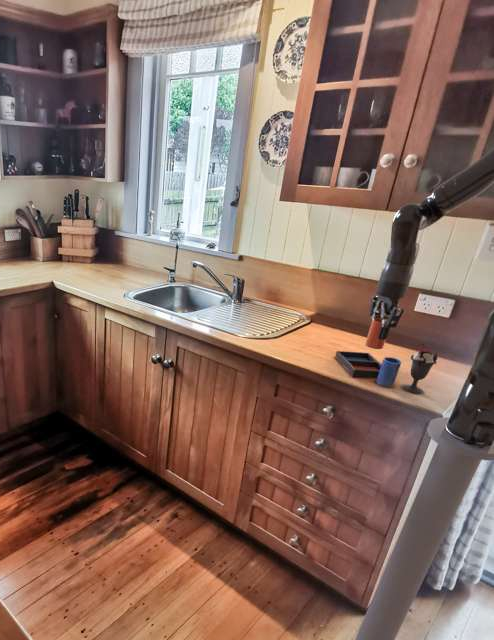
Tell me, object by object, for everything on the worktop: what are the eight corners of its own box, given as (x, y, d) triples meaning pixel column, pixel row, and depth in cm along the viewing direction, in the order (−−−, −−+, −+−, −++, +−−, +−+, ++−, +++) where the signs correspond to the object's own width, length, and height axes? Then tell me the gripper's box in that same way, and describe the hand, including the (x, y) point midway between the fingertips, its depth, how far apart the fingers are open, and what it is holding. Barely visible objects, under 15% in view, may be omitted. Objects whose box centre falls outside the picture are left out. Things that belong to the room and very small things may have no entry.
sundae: (396, 388, 141) (412, 342, 135) (406, 382, 145) (422, 338, 138) (419, 397, 137) (437, 350, 130) (428, 391, 140) (446, 345, 134)
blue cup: (396, 387, 141) (404, 364, 138) (380, 386, 142) (388, 363, 138) (388, 380, 146) (396, 357, 142) (373, 379, 146) (380, 356, 142)
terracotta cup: (385, 349, 136) (394, 324, 133) (369, 348, 136) (377, 323, 133) (378, 343, 141) (386, 318, 137) (362, 342, 141) (369, 317, 137)
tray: (387, 379, 147) (389, 371, 146) (352, 377, 147) (354, 369, 146) (366, 359, 160) (368, 352, 159) (334, 357, 160) (336, 350, 159)
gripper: (422, 286, 123) (402, 345, 131) (395, 273, 136) (378, 328, 144) (394, 284, 123) (375, 344, 131) (369, 272, 136) (354, 326, 144)
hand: (377, 335), depth 137 cm, fingers closed on terracotta cup, 5 cm apart
